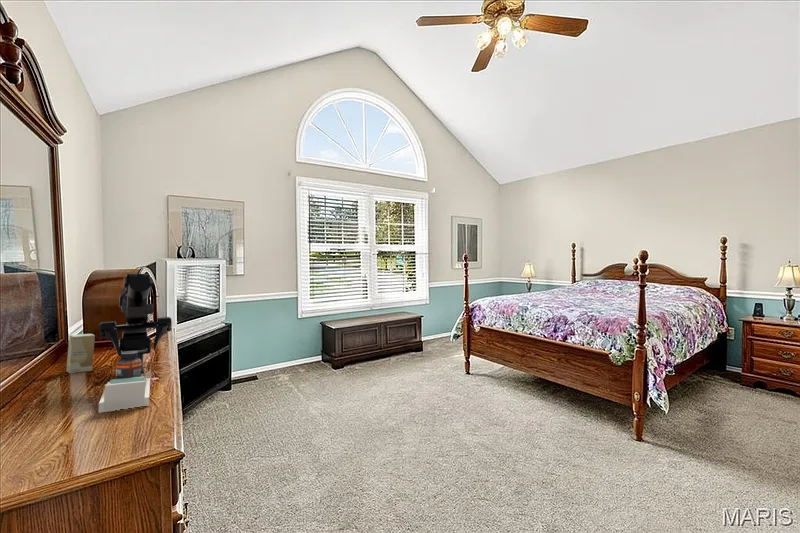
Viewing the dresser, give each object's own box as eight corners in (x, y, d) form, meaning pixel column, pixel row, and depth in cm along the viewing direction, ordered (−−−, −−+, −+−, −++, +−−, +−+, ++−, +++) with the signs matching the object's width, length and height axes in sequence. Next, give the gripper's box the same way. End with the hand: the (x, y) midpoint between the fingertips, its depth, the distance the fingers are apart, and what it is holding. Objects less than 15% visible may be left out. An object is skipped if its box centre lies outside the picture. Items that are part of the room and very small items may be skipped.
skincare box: (69, 374, 125) (71, 336, 125) (65, 371, 128) (67, 335, 128) (93, 370, 130) (95, 334, 130) (89, 368, 133) (91, 333, 133)
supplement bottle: (143, 388, 112) (145, 349, 112) (136, 394, 107) (138, 354, 107) (119, 389, 110) (121, 350, 111) (111, 395, 105) (113, 354, 105)
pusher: (110, 396, 104) (110, 379, 104) (143, 392, 108) (144, 376, 108) (109, 399, 102) (109, 382, 102) (143, 395, 106) (144, 378, 106)
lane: (107, 390, 111) (108, 367, 111) (149, 385, 116) (151, 364, 117) (98, 412, 94) (99, 386, 95) (148, 406, 100) (149, 381, 100)
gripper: (98, 296, 114) (95, 345, 107) (171, 293, 124) (172, 337, 117) (102, 313, 122) (99, 360, 115) (170, 309, 132) (172, 351, 125)
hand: (137, 351), depth 118 cm, fingers open, 9 cm apart
